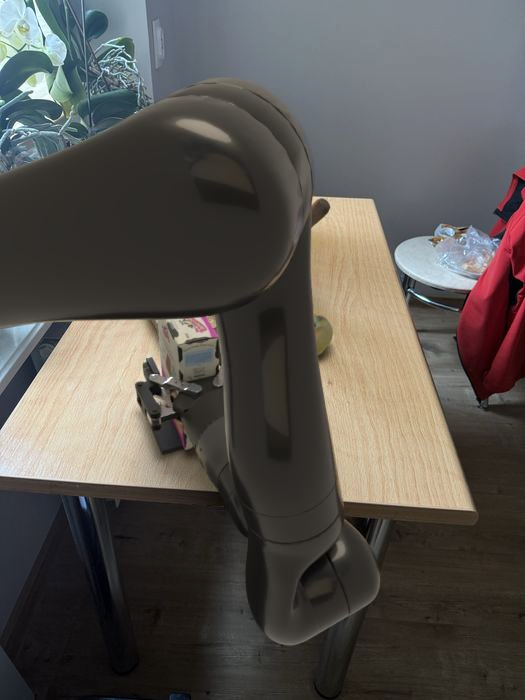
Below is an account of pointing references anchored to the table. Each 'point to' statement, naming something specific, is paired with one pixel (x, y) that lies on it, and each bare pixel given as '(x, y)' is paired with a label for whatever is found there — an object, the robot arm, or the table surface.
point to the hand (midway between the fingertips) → (182, 355)
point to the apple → (322, 332)
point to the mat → (168, 437)
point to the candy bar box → (188, 354)
